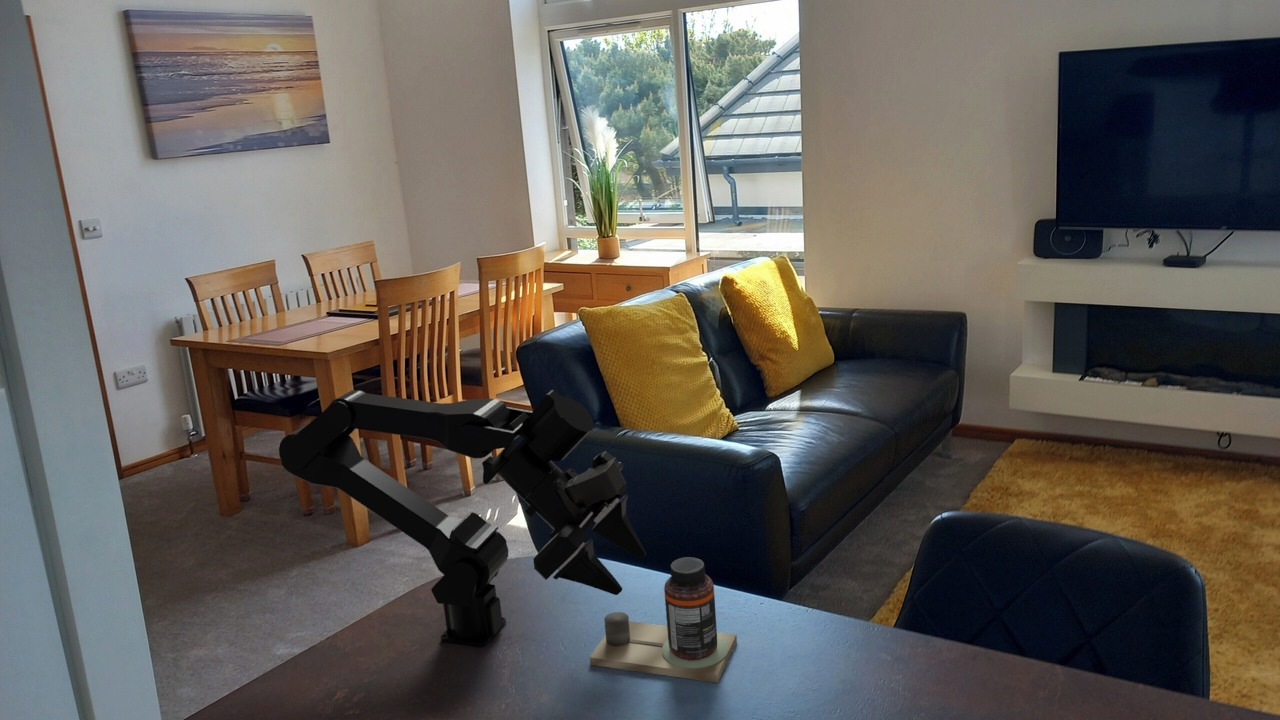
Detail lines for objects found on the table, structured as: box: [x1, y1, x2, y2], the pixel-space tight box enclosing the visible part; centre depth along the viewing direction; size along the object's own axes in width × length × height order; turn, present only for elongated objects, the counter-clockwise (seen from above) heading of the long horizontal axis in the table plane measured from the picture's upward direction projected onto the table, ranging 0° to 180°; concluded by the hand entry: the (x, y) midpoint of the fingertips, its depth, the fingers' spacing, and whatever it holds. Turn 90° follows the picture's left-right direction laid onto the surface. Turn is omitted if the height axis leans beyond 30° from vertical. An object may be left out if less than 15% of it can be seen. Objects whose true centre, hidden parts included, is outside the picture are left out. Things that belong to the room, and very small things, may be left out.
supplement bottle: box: [663, 556, 718, 660], centre depth 117 cm, size 6×6×11 cm
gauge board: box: [589, 611, 738, 684], centre depth 120 cm, size 16×9×4 cm, turn 70°
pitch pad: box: [662, 635, 728, 669], centre depth 118 cm, size 8×8×1 cm
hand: (632, 573), depth 119 cm, fingers open, 9 cm apart
